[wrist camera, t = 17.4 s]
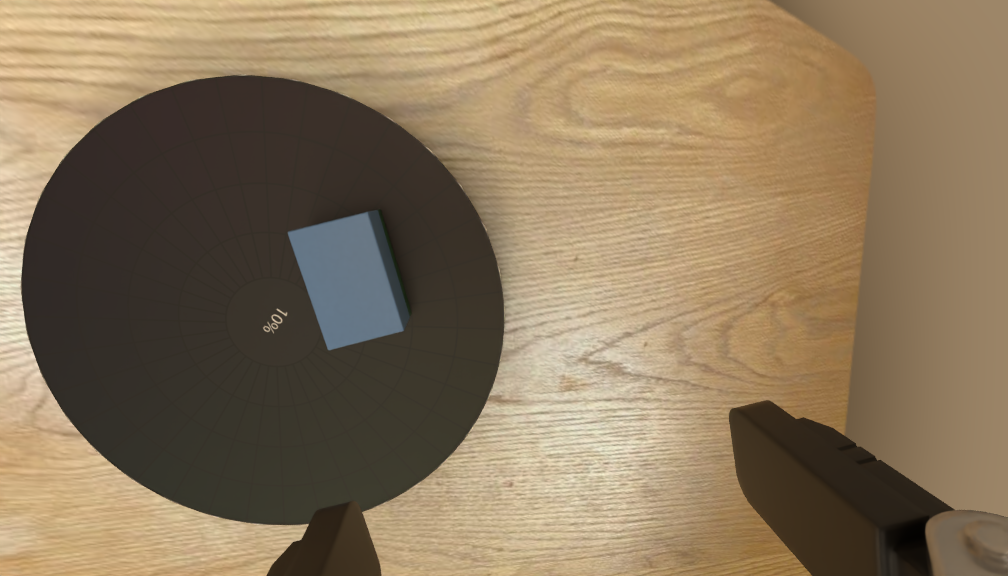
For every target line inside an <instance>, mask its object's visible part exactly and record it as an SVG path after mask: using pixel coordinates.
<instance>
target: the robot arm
mask: <svg viewBox="0 0 1008 576" xmlns="http://www.w3.org/2000/svg"><path fill="white" fill-rule="evenodd" d="M729 422H730V430H731V437H732V444H733V452H734V459H735V466H736V473H737V477H738V481H739V484H740V486H741V489H742V491H743V493H744V495H745V497H746V498H747V500H748V502H749V503H750V504H751V506H752V507H753V508H754V509H755V510H756V511H757V513H758V514H759V515H760V516H761V517H762V518H763V519H764V521H765V522H766V523H767V524H768V525H769V526H770V528H771V529H772V530H773V531H774V532H775V533H776V534H777V536H778V537H779V538H780V539H781V540H782V541H783V542H784V544H785V545H786V546H787V547H788V548H789V549H790V550H791V552H792V553H793V554H794V555H795V556H796V557H797V559H798V560H799V561H800V562H801V563H802V564H803V565H804V567H805V568H806V569H807V570H808V571H809V572H810V573H811V575H812V576H1008V517H1004V516H1000V515H997V514H992V513H987V512H981V511H973V510H954V509H953V508H951V507H950V506H948V505H947V504H945V503H944V502H942V501H941V500H939V499H938V498H936V497H935V496H933V495H932V494H930V493H929V492H927V491H926V490H924V489H923V488H921V487H920V486H918V485H917V484H916V483H914V482H913V481H911V480H909V479H908V478H906V477H905V476H904V475H902V474H901V473H899V472H898V471H896V470H894V469H893V468H892V467H890V466H888V465H887V464H886V463H884V462H883V461H881V460H878V461H877V460H876V458H875V456H874V455H872V454H871V453H869V452H868V451H866V450H865V449H863V448H862V447H857V446H856V443H854V442H853V441H851V440H850V439H848V438H847V437H845V436H844V435H842V434H841V433H839V432H838V431H836V430H835V429H833V428H831V427H829V426H826V425H823V424H820V423H817V422H815V421H812V420H809V419H806V418H800V419H795V418H794V417H792V416H791V415H790V414H788V413H787V412H785V411H784V410H783V409H781V408H780V407H778V406H777V405H776V404H774V403H773V402H771V401H768V400H766V401H761V402H757V403H753V404H749V405H745V406H741V407H737V408H733V409H731V410H730V413H729ZM267 576H381V568H380V563H379V560H378V557H377V554H376V551H375V548H374V545H373V542H372V539H371V537H370V534H369V531H368V528H367V525H366V522H365V519H364V516H363V514H362V511H361V508H360V506H359V504H358V503H357V502H356V501H350V502H346V503H342V504H338V505H334V506H330V507H326V508H322V509H318V510H317V511H316V512H315V514H314V515H313V517H312V519H311V521H310V523H309V525H308V528H307V530H306V532H305V534H304V536H303V538H302V540H300V541H296V542H293V543H292V544H291V545H290V546H289V547H288V548H287V549H286V551H285V552H284V553H283V554H282V555H281V556H280V557H279V558H278V559H277V560H276V561H275V562H274V564H273V565H272V566H271V568H270V570H269V572H268V574H267Z"/></svg>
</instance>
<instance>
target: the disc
mask: <svg viewBox="0 0 1008 576" xmlns="http://www.w3.org/2000/svg"><path fill="white" fill-rule="evenodd" d="M379 209H381V212H382V215H383V218H384V222H385V225H386V228H387V232H388V235H389V238H390V242H391V245H392V248H393V252H394V255H395V258H396V262H397V265H398V268H399V272H400V275H401V279H402V282H403V285H404V289H405V292H406V295H407V299H408V302H409V305H410V309H411V312H412V314H411V316H410V318H409V320H408V322H407V325H406V327H405V329H404V331H402V332H398V333H394V334H390V335H386V336H382V337H378V338H375V339H371V340H367V341H363V342H359V343H355V344H351V345H347V346H344V347H340V348H336V349H332V350H328V349H327V346H326V343H325V340H324V337H323V334H322V331H321V328H320V325H319V323H318V320H317V317H316V314H315V311H314V308H313V305H312V302H311V299H310V297H309V294H308V291H307V288H306V285H305V282H304V279H303V276H302V273H301V271H300V268H299V265H298V262H297V259H296V256H295V253H294V250H293V247H292V245H291V242H290V239H289V236H288V232H289V231H292V230H296V229H300V228H304V227H308V226H312V225H316V224H320V223H324V222H328V221H332V220H336V219H340V218H344V217H348V216H352V215H356V214H360V213H364V212H369V211H374V210H379ZM21 294H22V302H23V309H24V316H25V324H26V331H27V335H28V338H29V341H30V344H31V347H32V349H33V352H34V355H35V358H36V361H37V363H38V366H39V369H40V372H41V375H42V377H43V379H44V381H45V382H46V384H47V386H48V387H49V389H50V391H51V392H52V394H53V396H54V397H55V399H56V401H57V402H58V404H59V406H60V407H61V409H62V411H63V412H64V414H65V416H66V417H67V418H68V419H69V421H70V422H71V423H72V424H73V425H74V426H75V427H76V428H77V430H78V431H79V432H80V433H81V434H82V435H83V436H84V438H85V439H86V440H87V441H88V442H89V443H90V444H91V445H92V447H93V448H94V449H95V450H96V451H97V452H98V453H99V454H101V455H102V456H103V457H104V458H106V459H107V460H108V461H109V462H111V463H112V464H113V465H114V466H116V467H117V468H118V469H119V470H121V471H122V472H123V473H124V474H126V475H127V476H128V477H129V478H131V479H132V480H133V481H135V482H137V483H139V484H141V485H143V486H144V487H146V488H148V489H150V490H152V491H153V492H155V493H157V494H159V495H161V496H162V497H164V498H166V499H168V500H170V501H172V502H174V503H177V504H180V505H182V506H185V507H188V508H191V509H194V510H196V511H199V512H202V513H205V514H208V515H211V516H213V517H218V518H224V519H229V520H235V521H240V522H246V523H252V524H257V525H304V524H309V523H310V521H311V519H312V517H313V515H314V514H315V512H316V511H317V510H318V509H322V508H326V507H330V506H334V505H338V504H342V503H346V502H350V501H356V502H357V503H358V504H359V506H360V508H361V511H362V512H363V511H366V510H369V509H372V508H375V507H378V506H381V505H382V504H384V503H386V502H388V501H390V500H391V499H393V498H395V497H397V496H399V495H400V494H402V493H404V492H406V491H408V490H409V489H411V488H413V487H415V486H416V485H418V484H419V483H420V482H421V481H423V480H424V479H425V478H426V477H427V476H429V475H430V474H431V473H432V472H433V471H435V470H436V469H437V468H438V467H439V466H441V465H442V464H443V463H444V462H445V461H447V459H448V458H449V457H450V456H451V455H452V453H453V452H454V451H455V450H456V448H457V447H458V446H459V445H460V444H461V442H462V441H463V440H464V439H465V437H466V436H467V435H468V434H469V433H470V431H471V430H472V428H473V427H474V425H475V423H476V421H477V419H478V417H479V415H480V413H481V411H482V409H483V408H484V406H485V404H486V402H487V400H488V398H489V396H490V394H491V391H492V388H493V384H494V381H495V377H496V374H497V370H498V367H499V363H500V360H501V357H502V347H503V335H504V322H505V308H504V300H503V292H502V284H501V276H500V270H499V267H498V264H497V261H496V258H495V255H494V252H493V249H492V246H491V243H490V240H489V237H488V234H487V231H486V228H485V226H484V224H483V223H482V221H481V219H480V217H479V216H478V214H477V212H476V210H475V209H474V207H473V205H472V203H471V202H470V200H469V198H468V196H467V195H466V193H465V191H464V189H463V188H462V186H461V185H460V184H459V183H458V182H457V181H456V179H455V178H454V177H453V176H452V175H451V174H450V172H449V171H448V170H447V169H446V168H445V167H444V165H443V164H442V163H441V162H440V161H439V160H438V158H437V157H436V156H435V155H434V154H433V153H432V151H431V150H430V149H428V148H427V147H426V146H425V145H423V144H422V143H421V142H419V141H418V140H417V139H416V138H414V137H413V136H412V135H411V134H409V133H408V132H407V131H406V130H404V129H403V128H402V127H401V126H399V125H398V124H397V123H396V122H394V121H393V120H392V119H390V118H388V117H387V116H385V115H383V114H381V113H379V112H377V111H375V110H373V109H371V108H369V107H367V106H366V105H364V104H362V103H360V102H358V101H356V100H354V99H352V98H350V97H348V96H346V95H344V94H341V93H338V92H334V91H331V90H328V89H324V88H321V87H318V86H314V85H311V84H308V83H304V82H301V81H298V80H294V79H284V78H273V77H263V76H252V75H233V76H224V77H215V78H205V79H196V80H189V81H186V82H183V83H180V84H177V85H174V86H171V87H168V88H165V89H162V90H159V91H156V92H153V93H150V94H147V95H144V96H141V97H140V98H138V99H136V100H135V101H133V102H131V103H130V104H128V105H127V106H125V107H123V108H122V109H120V110H118V111H117V112H115V113H113V114H112V115H110V116H108V117H107V118H105V119H103V120H102V121H100V122H99V123H98V124H97V125H96V126H95V127H94V128H93V129H92V130H91V131H90V132H89V133H87V134H86V135H85V136H84V137H83V138H82V139H81V140H80V141H79V142H78V143H77V144H76V145H75V146H74V147H73V148H72V149H71V150H70V151H69V152H68V153H67V154H66V155H65V156H64V158H63V159H62V161H61V162H60V164H59V166H58V167H57V169H56V171H55V172H54V174H53V175H52V177H51V179H50V180H49V182H48V183H47V185H46V187H45V188H44V190H43V191H42V193H41V195H40V196H39V199H38V202H37V205H36V208H35V211H34V214H33V217H32V220H31V223H30V226H29V229H28V232H27V235H26V238H25V242H24V254H23V265H22V277H21Z"/></svg>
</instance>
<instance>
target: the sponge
mask: <svg viewBox="0 0 1008 576" xmlns="http://www.w3.org/2000/svg"><path fill="white" fill-rule="evenodd" d="M288 236H289V239H290V242H291V245H292V247H293V250H294V253H295V256H296V259H297V262H298V265H299V268H300V271H301V273H302V276H303V279H304V282H305V285H306V288H307V291H308V294H309V297H310V299H311V302H312V305H313V308H314V311H315V314H316V317H317V320H318V323H319V325H320V328H321V331H322V334H323V337H324V340H325V343H326V346H327V349H328V350H332V349H336V348H340V347H344V346H347V345H351V344H355V343H359V342H363V341H367V340H371V339H375V338H378V337H382V336H386V335H390V334H394V333H398V332H402V331H404V329H405V327H406V325H407V322H408V320H409V318H410V316H411V314H412V312H411V309H410V305H409V302H408V299H407V295H406V292H405V289H404V285H403V282H402V279H401V275H400V272H399V268H398V265H397V262H396V258H395V255H394V252H393V248H392V245H391V242H390V238H389V235H388V232H387V228H386V225H385V222H384V218H383V215H382V212H381V209H379V210H374V211H369V212H364V213H360V214H356V215H352V216H348V217H344V218H340V219H336V220H332V221H328V222H324V223H320V224H316V225H312V226H308V227H304V228H300V229H296V230H292V231H289V232H288Z"/></svg>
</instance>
